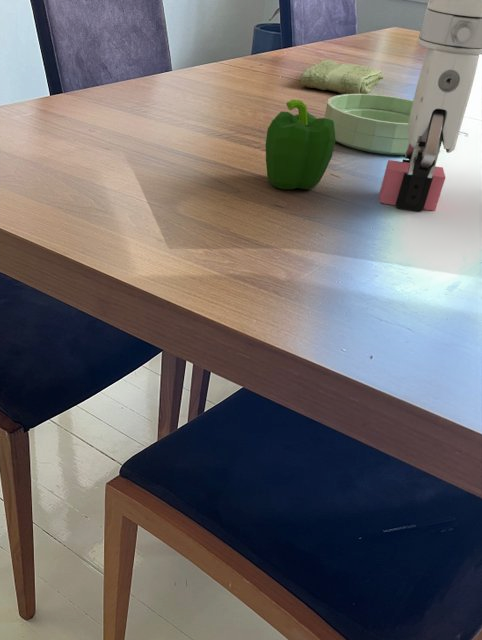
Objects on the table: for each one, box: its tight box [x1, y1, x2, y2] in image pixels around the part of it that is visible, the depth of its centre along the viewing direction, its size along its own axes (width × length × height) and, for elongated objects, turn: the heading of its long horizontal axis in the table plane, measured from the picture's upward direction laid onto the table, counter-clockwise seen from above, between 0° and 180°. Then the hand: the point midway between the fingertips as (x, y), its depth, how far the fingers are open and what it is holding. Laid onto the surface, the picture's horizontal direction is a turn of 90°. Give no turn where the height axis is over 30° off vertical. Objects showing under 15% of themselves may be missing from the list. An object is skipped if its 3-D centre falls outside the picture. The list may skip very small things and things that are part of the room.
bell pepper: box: [264, 99, 337, 190], centre depth 88 cm, size 8×8×10 cm
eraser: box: [379, 159, 446, 212], centre depth 88 cm, size 6×4×4 cm, turn 76°
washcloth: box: [300, 59, 384, 95], centre depth 138 cm, size 13×18×3 cm
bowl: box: [323, 93, 413, 156], centre depth 109 cm, size 17×17×4 cm
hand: (408, 200), depth 89 cm, fingers open, 4 cm apart
